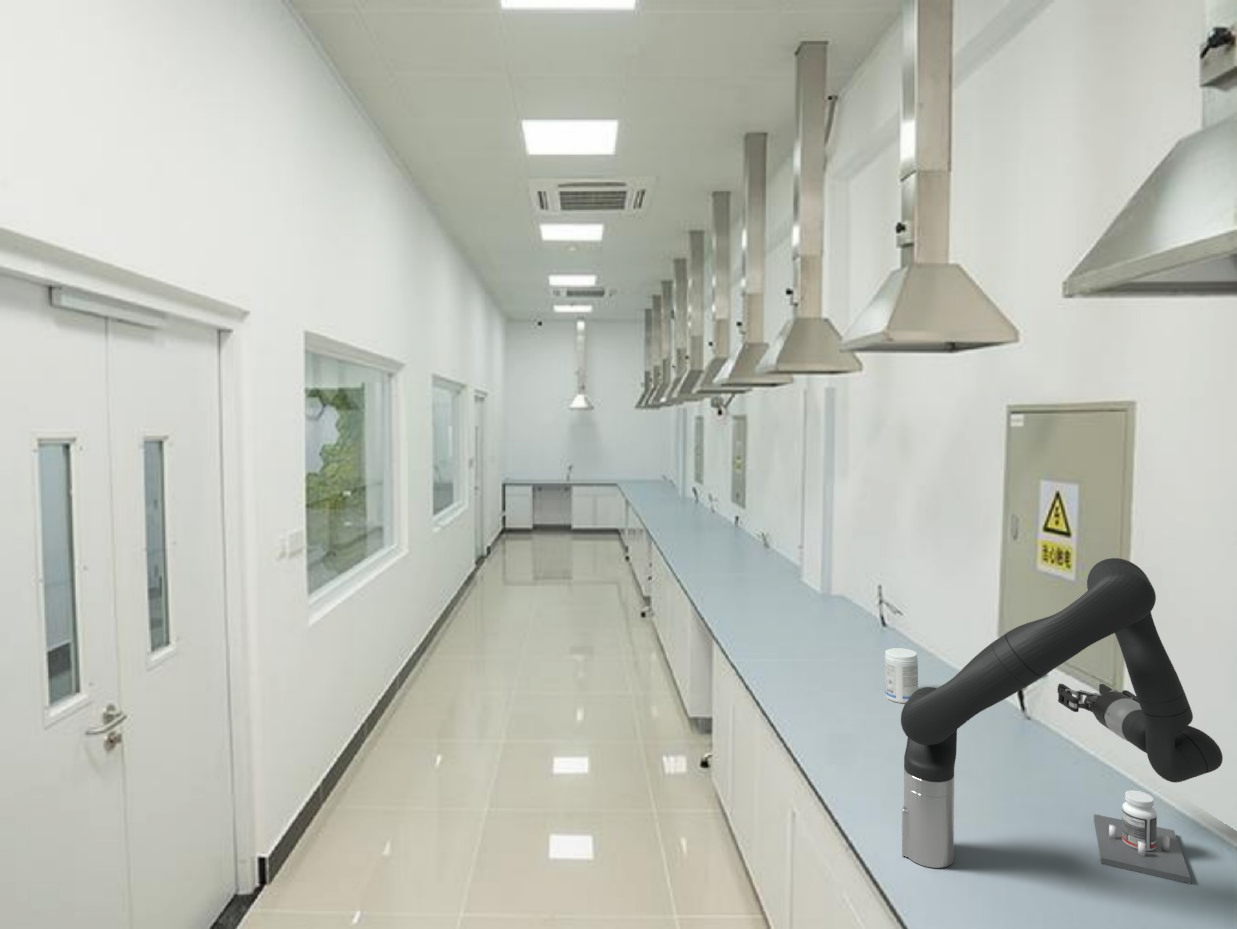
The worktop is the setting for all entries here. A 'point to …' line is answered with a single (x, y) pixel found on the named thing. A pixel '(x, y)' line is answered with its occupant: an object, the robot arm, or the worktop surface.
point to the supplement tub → (900, 674)
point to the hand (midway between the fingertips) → (1080, 687)
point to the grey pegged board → (1140, 851)
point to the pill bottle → (1139, 820)
